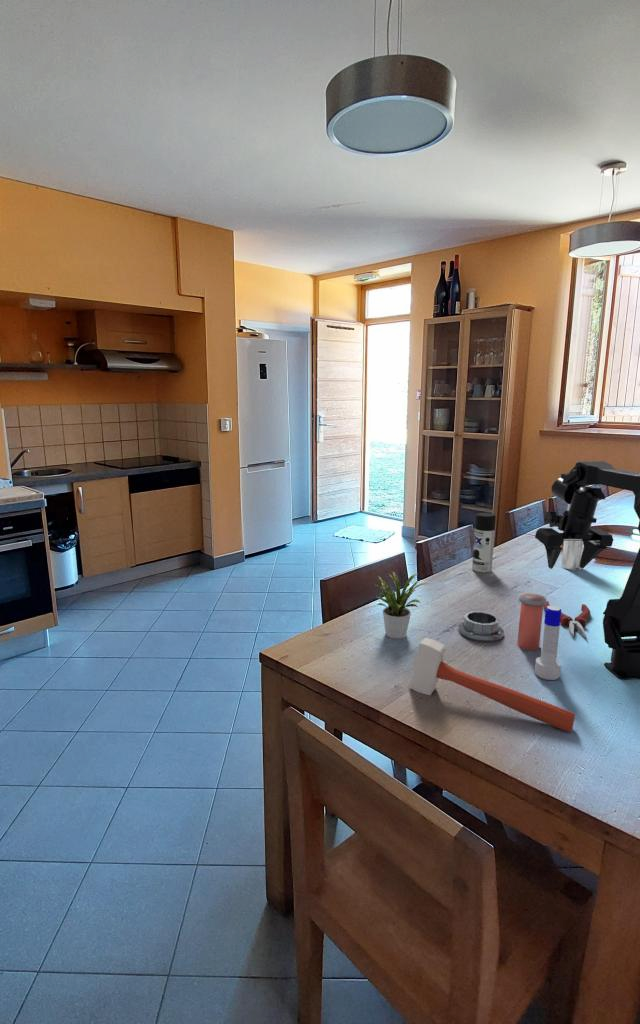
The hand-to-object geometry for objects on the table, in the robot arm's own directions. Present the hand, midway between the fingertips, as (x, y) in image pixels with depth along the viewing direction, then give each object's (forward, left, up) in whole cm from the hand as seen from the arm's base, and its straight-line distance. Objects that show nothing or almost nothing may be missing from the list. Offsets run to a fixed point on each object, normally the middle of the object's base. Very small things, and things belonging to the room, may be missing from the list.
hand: (565, 567), depth 137 cm
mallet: (-35, +32, -17) cm, 50 cm away
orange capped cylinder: (-9, +12, -17) cm, 23 cm away
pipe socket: (-2, +22, -17) cm, 27 cm away
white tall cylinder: (+50, -29, -17) cm, 60 cm away
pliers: (+5, -4, -17) cm, 18 cm away
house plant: (-2, +42, -17) cm, 46 cm away
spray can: (+48, +4, -17) cm, 51 cm away
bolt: (-24, +14, -17) cm, 32 cm away
